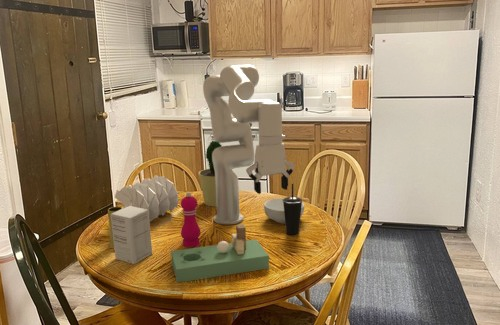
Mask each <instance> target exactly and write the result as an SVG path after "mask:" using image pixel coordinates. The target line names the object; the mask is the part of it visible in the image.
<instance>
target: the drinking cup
mask: <svg viewBox="0 0 500 325" xmlns="http://www.w3.org/2000/svg"><path fill="white" fill-rule="evenodd" d="M303 200H304V199H303V198H301V197H299V196H294V183H291V196H287V197H284V199H283V204H284V214H285V223H284V224H285V231H286V232H285V234H286V235H288V236H291V237H294V236H298V235H299V234H300V226H301V225H300V223H301V217H302V216H301V206H302V202H303V203H304V201H303ZM300 216H301V217H300Z"/></svg>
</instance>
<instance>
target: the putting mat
mask: <svg viewBox="0 0 500 325" xmlns="http://www.w3.org/2000/svg"><path fill="white" fill-rule="evenodd" d="M227 243H228V242H227ZM228 244H229V250H228V251H227V252H226V253H220V252H219V251H218V249H217V245H218V244H213V245H207V246H199V247H198V246H197V247H189V248H185V249H178V250H171V251H170V259H171V266H172V270H173V273H174V276H175V279H176V280H175V281H176V284H177V283H184V282H189V281H196V280H203V279H209V278H215V277H222V276H228V275H234V274H235V275H236V274H241V273H246V272H247V273H248V272H253V271H259V270H268V269H269V268H270V255H269V254H268V253H267V251H266V250H265V249H264V247H263V246H262V245H261V243H260V242H259V241H258V240H257V239H250V240H246V250H244V254H238V253H237V252H236V250H235V249H234V247H233V246H232V242H229V243H228Z"/></svg>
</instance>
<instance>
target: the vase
mask: <svg viewBox="0 0 500 325" xmlns="http://www.w3.org/2000/svg"><path fill="white" fill-rule="evenodd" d="M121 209H123V207H122V206H112V207H111V206H110V207H109V208H108V209H107V218H108V230H109V232H108V233H109V244H110V245H109V246H110V248H112V249H114V241H113V232H112V222H111V214H112V213H114V212H117V211H119V210H121Z"/></svg>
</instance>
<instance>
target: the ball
mask: <svg viewBox="0 0 500 325" xmlns="http://www.w3.org/2000/svg"><path fill="white" fill-rule="evenodd" d="M216 245H217V249H218V251H219V252H220V253H226V252H227V251H228V250H229V244H228V241H226V240H225V241H224V240H221V241H219V242H218V243H217V244H216Z"/></svg>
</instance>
